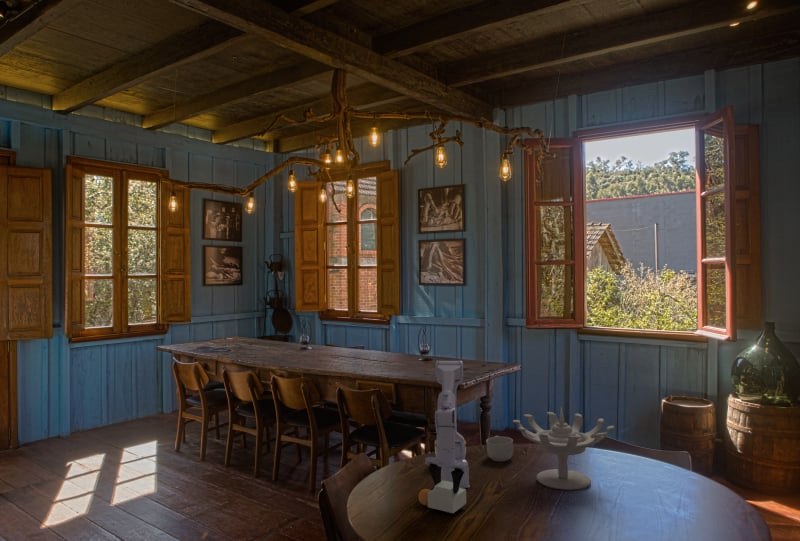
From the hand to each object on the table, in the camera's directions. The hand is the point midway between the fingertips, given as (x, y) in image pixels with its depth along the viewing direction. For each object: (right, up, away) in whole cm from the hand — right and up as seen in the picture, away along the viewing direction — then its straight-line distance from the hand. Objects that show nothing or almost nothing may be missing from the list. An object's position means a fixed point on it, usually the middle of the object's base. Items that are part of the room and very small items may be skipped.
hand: (446, 490), depth 175 cm
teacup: (+26, -7, +50) cm, 57 cm away
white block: (0, -5, 0) cm, 5 cm away
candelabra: (+44, -6, +22) cm, 49 cm away
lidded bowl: (+5, -7, +43) cm, 44 cm away
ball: (-6, -4, +4) cm, 9 cm away
